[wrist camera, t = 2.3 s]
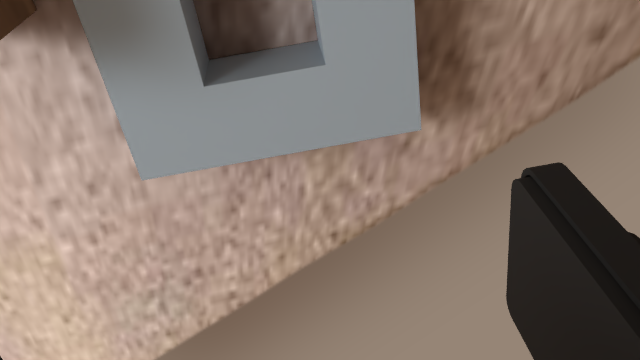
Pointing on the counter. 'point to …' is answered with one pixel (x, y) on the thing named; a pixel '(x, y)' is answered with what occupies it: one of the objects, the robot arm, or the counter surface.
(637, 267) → the robot arm
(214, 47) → the counter surface
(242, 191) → the counter surface
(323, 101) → the socket block
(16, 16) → the square bit
